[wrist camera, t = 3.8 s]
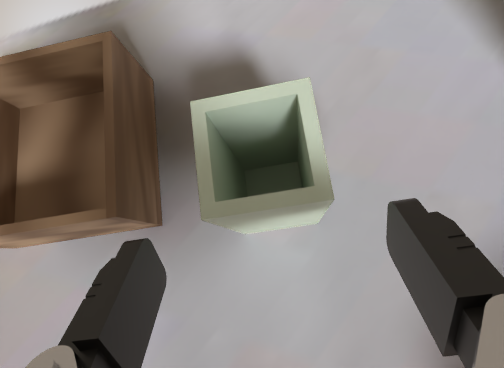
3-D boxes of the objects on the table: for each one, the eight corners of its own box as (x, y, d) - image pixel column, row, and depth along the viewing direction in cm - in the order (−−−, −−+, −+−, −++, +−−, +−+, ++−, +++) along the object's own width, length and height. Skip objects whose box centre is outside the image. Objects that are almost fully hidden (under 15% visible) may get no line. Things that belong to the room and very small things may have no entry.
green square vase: (304, 154, 22) (309, 77, 12) (317, 223, 21) (334, 199, 11) (236, 166, 22) (190, 101, 13) (245, 234, 21) (201, 219, 12)
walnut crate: (152, 80, 25) (111, 30, 19) (162, 225, 22) (116, 216, 17) (22, 108, 26) (-53, 69, 21) (15, 248, 24) (-73, 247, 18)
